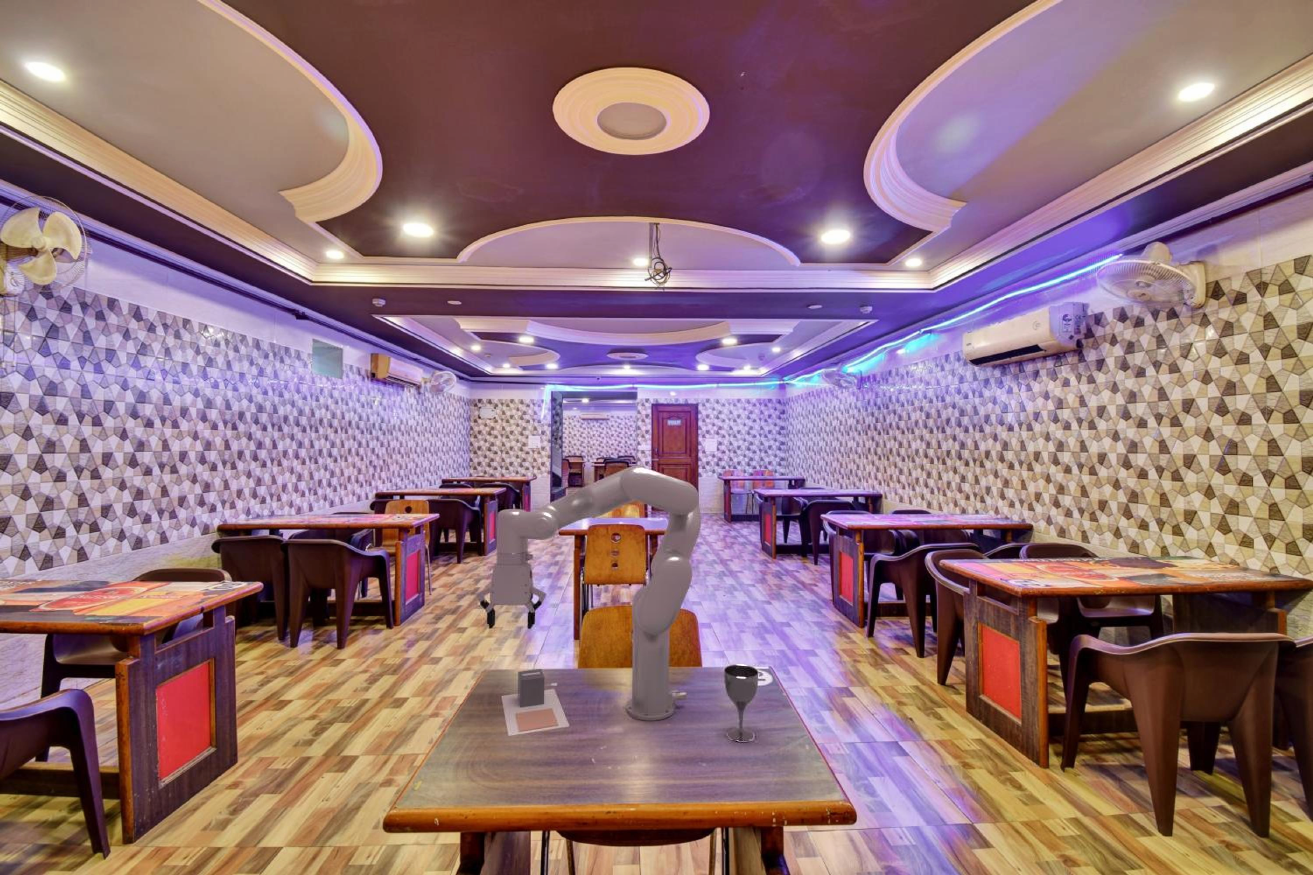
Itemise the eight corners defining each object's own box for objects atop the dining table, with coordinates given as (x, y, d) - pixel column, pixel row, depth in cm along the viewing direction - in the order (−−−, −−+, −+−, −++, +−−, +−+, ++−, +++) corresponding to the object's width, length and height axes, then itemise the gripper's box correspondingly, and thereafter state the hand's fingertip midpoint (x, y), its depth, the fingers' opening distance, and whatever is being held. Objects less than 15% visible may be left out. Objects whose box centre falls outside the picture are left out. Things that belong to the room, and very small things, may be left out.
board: (554, 694, 152) (554, 687, 152) (569, 732, 131) (569, 724, 131) (501, 701, 147) (501, 694, 147) (508, 742, 127) (508, 734, 127)
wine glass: (764, 734, 131) (764, 670, 132) (745, 747, 125) (745, 680, 126) (736, 723, 137) (736, 661, 137) (717, 735, 131) (717, 670, 131)
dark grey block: (540, 694, 148) (541, 668, 149) (544, 704, 143) (544, 676, 143) (517, 697, 146) (518, 670, 146) (520, 707, 141) (520, 679, 141)
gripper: (549, 556, 144) (548, 622, 143) (482, 555, 144) (481, 622, 143) (543, 561, 136) (542, 632, 136) (472, 561, 136) (471, 631, 136)
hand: (511, 627), depth 139 cm, fingers open, 9 cm apart
